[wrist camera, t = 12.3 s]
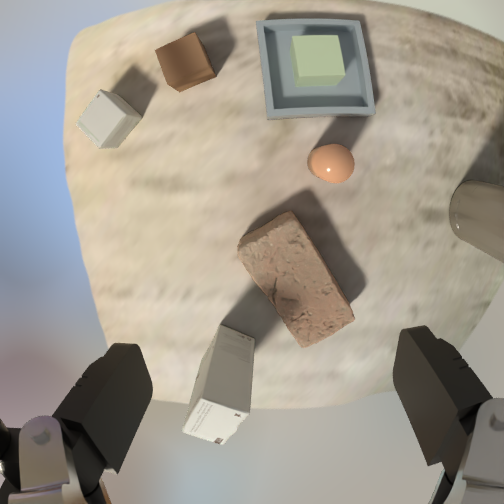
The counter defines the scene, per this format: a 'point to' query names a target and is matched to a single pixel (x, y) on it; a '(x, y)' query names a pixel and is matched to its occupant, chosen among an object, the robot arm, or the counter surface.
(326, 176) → the peach capsule
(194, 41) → the walnut cube
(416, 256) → the counter surface
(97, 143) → the small box
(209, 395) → the skincare box
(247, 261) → the brick
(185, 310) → the counter surface
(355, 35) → the tray
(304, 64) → the green block
